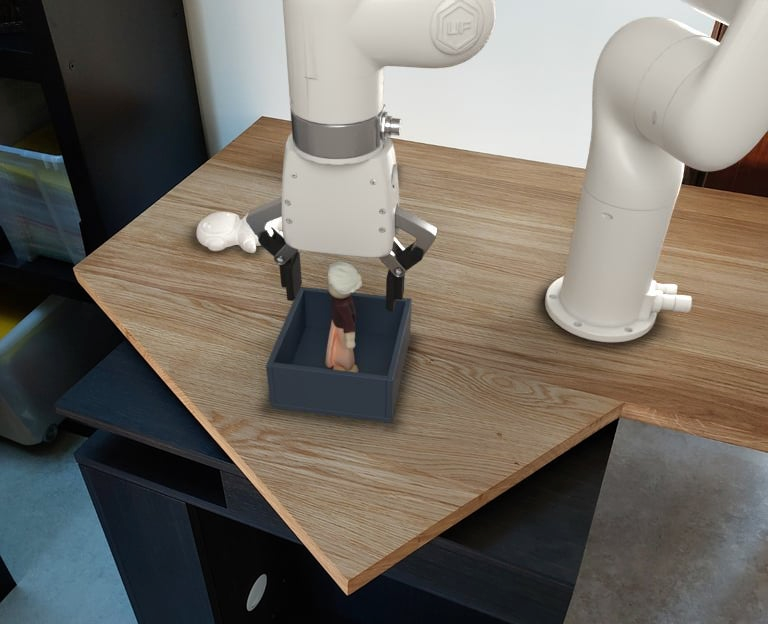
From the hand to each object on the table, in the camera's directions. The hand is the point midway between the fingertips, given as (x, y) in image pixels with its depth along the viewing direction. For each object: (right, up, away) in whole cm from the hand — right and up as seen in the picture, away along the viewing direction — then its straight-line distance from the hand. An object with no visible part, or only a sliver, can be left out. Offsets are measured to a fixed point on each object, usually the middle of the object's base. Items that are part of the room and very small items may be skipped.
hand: (343, 297), depth 75 cm
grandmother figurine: (0, -7, +6) cm, 9 cm away
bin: (0, -7, +6) cm, 10 cm away
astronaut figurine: (-14, +11, +26) cm, 32 cm away
